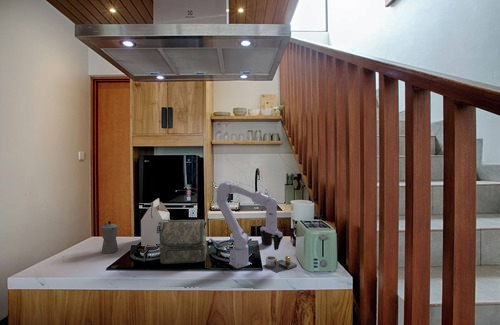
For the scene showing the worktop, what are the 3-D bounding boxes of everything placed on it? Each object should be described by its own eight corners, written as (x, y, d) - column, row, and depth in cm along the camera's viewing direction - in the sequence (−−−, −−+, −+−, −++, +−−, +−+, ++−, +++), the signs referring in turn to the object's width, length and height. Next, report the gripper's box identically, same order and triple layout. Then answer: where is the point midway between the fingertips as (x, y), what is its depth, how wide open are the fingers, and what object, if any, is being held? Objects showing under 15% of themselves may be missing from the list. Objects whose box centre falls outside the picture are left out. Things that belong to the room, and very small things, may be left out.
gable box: (150, 237, 194) (149, 197, 194) (169, 237, 196) (169, 197, 195) (141, 248, 172) (140, 202, 172) (163, 247, 174) (162, 202, 173)
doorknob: (287, 269, 139) (287, 260, 139) (278, 265, 144) (278, 256, 144) (296, 266, 143) (297, 257, 143) (287, 262, 148) (287, 253, 148)
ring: (270, 268, 141) (270, 260, 141) (263, 264, 145) (263, 257, 145) (278, 265, 144) (278, 258, 144) (271, 262, 149) (271, 255, 149)
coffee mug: (268, 246, 175) (268, 230, 174) (257, 244, 180) (257, 228, 179) (278, 242, 184) (278, 227, 184) (267, 239, 189) (267, 225, 189)
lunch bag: (154, 265, 145) (154, 223, 144) (163, 253, 163) (162, 216, 162) (205, 264, 147) (205, 222, 146) (208, 252, 165) (208, 215, 164)
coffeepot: (122, 252, 165) (121, 221, 164) (104, 256, 158) (104, 224, 158) (113, 246, 176) (113, 217, 176) (96, 249, 169) (96, 220, 169)
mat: (276, 273, 135) (276, 273, 135) (262, 266, 144) (262, 265, 144) (296, 266, 143) (296, 266, 143) (281, 260, 152) (281, 259, 152)
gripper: (286, 222, 141) (286, 249, 141) (267, 217, 152) (267, 242, 153) (276, 225, 137) (276, 252, 137) (257, 219, 148) (257, 245, 149)
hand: (271, 247), depth 145 cm, fingers open, 7 cm apart
